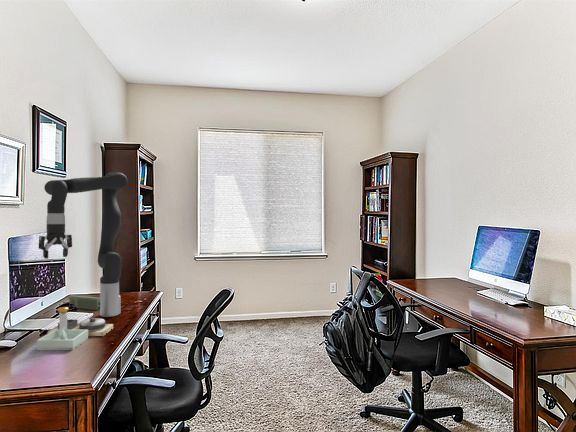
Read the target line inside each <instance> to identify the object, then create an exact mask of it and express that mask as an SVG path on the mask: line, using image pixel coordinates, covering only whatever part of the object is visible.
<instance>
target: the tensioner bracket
mask: <svg viewBox="0 0 576 432" xmlns="http://www.w3.org/2000/svg"><path fill="white" fill-rule="evenodd" d="M106 322H107V321H106V320H105V319H104V318H98V317H97V318H96V317H91V318H86V319H83V320H81V321H80V322H79V323H78V319H67V330H88V336H103V337H104V336H106V335H107V334H109V332H111V331H112V330H113V329H114V323H106ZM111 329H112V330H111ZM54 330H60V323H59V322H57V325H56V326H55V327H53V328H52V329H50V330H48V331H46V332H47V333H46V335H47V334H48V333H50V332H52V331H54ZM106 333H107V334H106Z"/></svg>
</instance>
